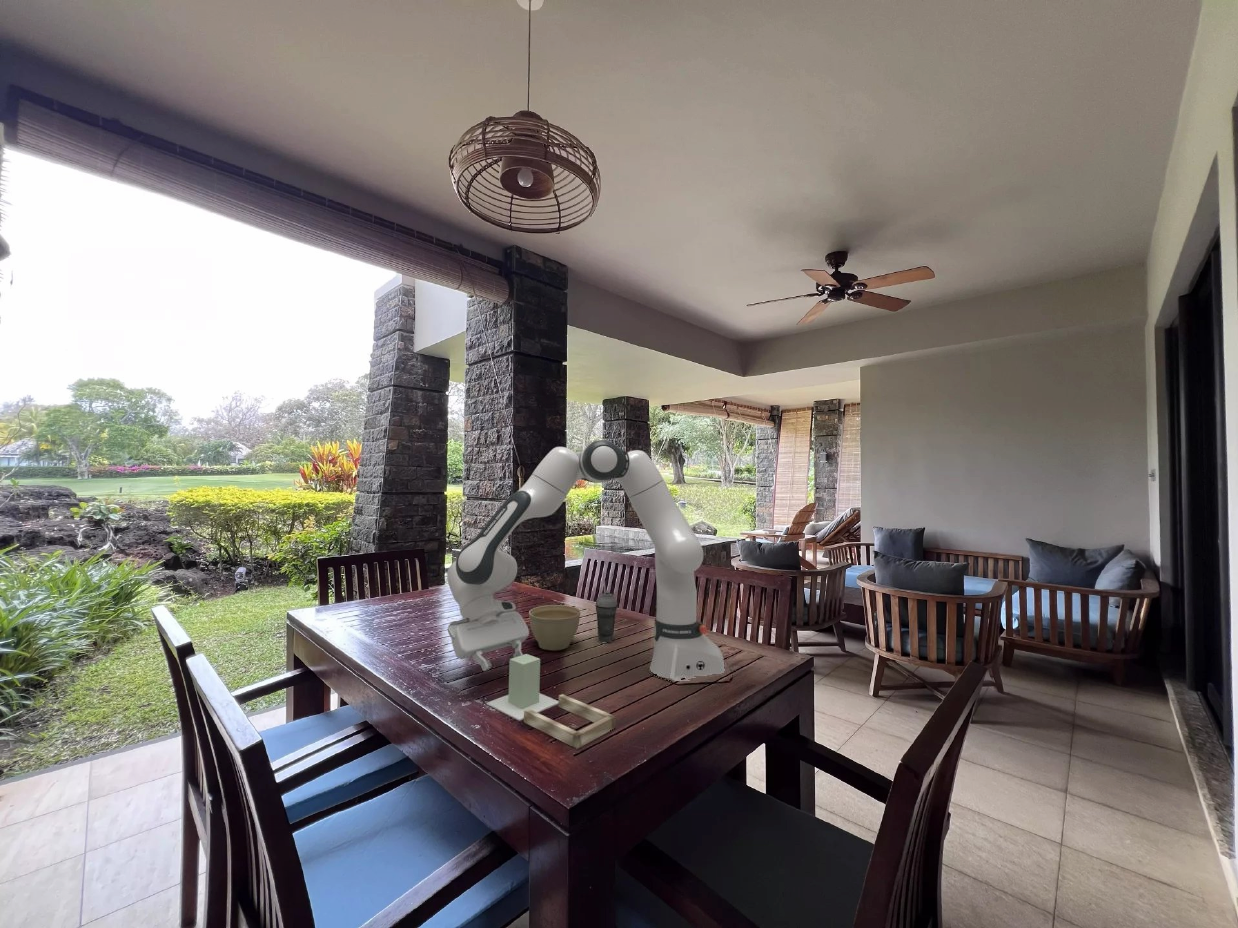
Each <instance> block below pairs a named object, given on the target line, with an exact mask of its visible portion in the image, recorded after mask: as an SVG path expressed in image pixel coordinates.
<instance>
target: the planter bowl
mask: <svg viewBox="0 0 1238 928" xmlns="http://www.w3.org/2000/svg"><path fill="white" fill-rule="evenodd" d="M581 613H582V612H581V610H580V609H579V608H578V607H575V606H571V605H563V604H550V605H541V606H537V607H534V608H531V609H530V610H529V612H528V616H529V626H530V629H531V632H532V634H533V636H534V639H535V640H536V641H537V643H538V646H539V648H541V649H542V650H546V651H557V652H558V651H561V650H565V649H567V648H569V647H570V644H571V642H572V640H573V639H574V637H575V636H576V634H577V632H578V628H579V626H580V618H581Z"/></svg>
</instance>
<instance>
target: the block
mask: <svg viewBox="0 0 1238 928" xmlns="http://www.w3.org/2000/svg"><path fill="white" fill-rule="evenodd" d="M508 665H509V670H508V671H509V672H508V695H509V697H508V703H510V704H512V705H514V706H516V707H519V708H521V709H524V708H526V707H529V706H531V705H533V704H536V703H538V702H539V693H540V686H541V685H540V684H541V683H540V681H541V680H540V679H541V678H540V677H541V674H540V673H541V658H539V657H536V656H533V655H530V654H528V653H525V654H523V655H521V656H518V657H515V658H514V657H511V658H509V664H508Z"/></svg>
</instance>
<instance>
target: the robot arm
mask: <svg viewBox="0 0 1238 928" xmlns="http://www.w3.org/2000/svg"><path fill="white" fill-rule="evenodd" d="M580 480H582V481H586V482H589V483H597V484H600V483H601V484H602V483H606V482H609V481H610V480H615V481H617V482H618V483H619V484H620V486H621V487H622V488H623V489H624V492H625V493H626V494H625V495H626V496H627V497H628V500H629V501H630V503H631V505H632V507H633V510H634V512H635V513H636V516H637V518H638V519H639V521H640V523H641V525H642V526H643V528H644V529H645V532H646V533H647V535H648V536H649V538H650V540H651V542H652V544H653V545H654V565H655V566H654V567H655V582H656V617H655V618H654V626H653V630H654V631H653V637H654V646H653V653H652V658H651V662H650V665H649V668H650V670H651V672H653V673H654V674H657V675H658V676H662V677H665V678H670V679H672V680H674V681H690V680H688V679H691V678H696V677H694V676H707V675H712V674H722V673H724V671H725V669H724V663H725V662H724V655H723V653H722V651H721V649H720V648H719V647H718V646H717V644H715V643H714V642H713V641H712V640H710V639H709V637H707V636H706V635H705V634H707V633H708V628H707V626H706V625H704V623H703V622H701V620H699V619H697V607H698V606H697V601H698V599H697V598H698V596H697V594H698V590H697V587H696V581H695V572H696V571H697V570H698V569H699V568H700V567H701V566H702V563H703V561H704V549H703V546H702V545H701V542H700V540H699V539H698V537H697V535H696V534H695V531H693V528H692V526H691V525H690V523H689V522H688V520H687V519H686V517H685V515H684V514H683V512H682V510H681V509H680V507H679V506H678V504H677V502H676V501H675V499H674V496H672V493H671V491H670V489H669V487H668V486H667V483H666V482H665V480H664V478H663V475H662V474H661V473H660V470H659V469H658V468H657V466H656V464H655V463H654V462H653V460H652V459H651V458H650V456H649V455H648V454H647V453H646V451H644V450H638V449H637V450H630V451H626V450H624V449H622V448H621V447H620V446H618V445H617V444H615V443H614V442H611V441H609V440H605V439H601V440H595V441H593V442H591V443H589V444H588V445H587V446H585V447H584V448H583V449H582V450H581V451H577V452H576V451H574V450H572V449H571V448H567V447H565V446H556V447H554V448H552V449H551V450H550V451H549V452H548V453H547V454H546V455H545V457H543V459H542V460H541V461H540V463H538V465H537V466H536V468H535V469H534V470H533V472H532V474H531V475H530V476H529V478H528V479H527V481H526V482H525V483H524V484H523V485H522V486H521V487H520V488H519V489H518V490H517V491H515V492H514V493H512V494H511V495H510V496H509V497H508V498H507V499H506V500H505V501H504V502H503V503H502V505H500V507H499V508H498V509H497V511H496V512H495V513H494V514H493V515H492V517H491V518H490V519H489V520H488V522H487V523H486V524H485V526H484V527H483V528H482V529H481V530H480V532H479V533H478V534H477V535H476V536H475V537H474V538H472V539H471V540H470V541H469V542H468V543H466V544H465V545H464V546H463V547H462V548H461V549H460V551H459V552H458V554H457V556H456V560H455V561H453V563H451V564H450V566H449V567H448V569H447V573H446V577H447V582H448V586H449V589H450V591H451V595H452V597H453V600H454V601H455V602H456V603H457V605H458V606H459V612H460V616H461V618H462V619H459V620H454V621H451V622H450V624H449V625H448V626H447V632H448V635H449V637H450V638H451V639H450V640H451V644H452V648H453V652H454V654H455V656H456V658H458V659H459V660H465V659H467V658H472V660H473V661H474V662H476V664H478V665H479V666H481V669H482V671H483V672H487V671H489V670H490V669H491V668H492V667H493V666H492V662H491V661H490V659H485V658H484V656H482V655H483V654H486V653H489V652H492V651H496V650H500V649H504V648H506V647H511V648H512V649H514V654H513V655H512V658H515V657H518V656H521V655H524V654H523V653H522V643H523V642H525V641H526V640H527V639H528V637H529V636H530V629H529V628H528V625H527V623H526V621H525V620H524V618H523V616H522V615H521V614H520V613H519V612H518V611H516V609H517V606H516V604H515V603H514V602H512V601H506V600H505V601H504V600H500V599H495V598H494V594H495V593H499V592H500V591H502V590H504V589H505V588H507V587H509V586H511V584H513V582H515V580H516V578H517V575H518V572H519V571H518V562H517V560H516V558H515V557H514V556H513V555H512V554H509V553H507V552H505V551H503V550H499V549H500V547H502V545H503V544H504V543H505V541H506V540H507V538H508V537H509V536H510V535H511V534H512V533H513V531H514V530H515V529H516V527H517V526H518V525H520V524H521V523H523V522H525V521H527V520H530V519H534V518H544V517H545V518H546V517H548V516H551V515H553V514H555V512H556V511H557V510H558V509H559V508H560V507H561V505H562V504H563V503H564V501H565V499H566V498H567V496H568V495H569V493H570V491H571V490H572V488H573V487H574V485H575V484H576V483H577V482H578V481H580ZM650 670H649V671H650ZM651 672H650V673H651ZM681 678H685V679H686V680H681Z"/></svg>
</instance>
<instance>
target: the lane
mask: <svg viewBox="0 0 1238 928" xmlns="http://www.w3.org/2000/svg"><path fill="white" fill-rule="evenodd" d="M558 701H559V704H557V706H558V707H559V708H560V709H563V710H565V711H567V712H569V713H572V714H574V715H577V716H579V717H581V718H583V719H585V720H588V721H590V722H592V723H591V724H590V725H588V726H586V727H584V728H582V729H581V730H578V731H576V730H575V729H572V728H570V727H569V726H566V725H564V724H562V723H560V722H558V721H556V720H553V719H552V718H549V717H547V716H545V715H543V714H541V713H540V712H539V713H537V712H535V711H533V710H530V709H526V710H524V719H523V723H524V724H526V725H529V726H530V727H533V728H534V729H536V730H539V731H541V732H543V733H545V734H546V735H547V736H551V737H552V738H555V739H557V740H559V741H561V743H564V744H566V745H568V746H571V747H572V748H574V749H576V750H578V749H580V748H582V747H584V746H585V745H587V744H589V743H590V742H593V741H594V740H596V739H599V738H600V737H602V736H603V735H605V734H607V733H609V732H610V730H611V731H612V729H613V730H615V729H616V715H613V714H611V713H609V712H606V711H605V710H601V709H599V708H598V707H597V708H596V707H594V706H592V705H589V704H587V703H585V702H582V701H580V700H577V699H575V698H573V697H570V696H568V695H566V694H563V693H562V694H559V695H558ZM614 728H615V729H614Z"/></svg>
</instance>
